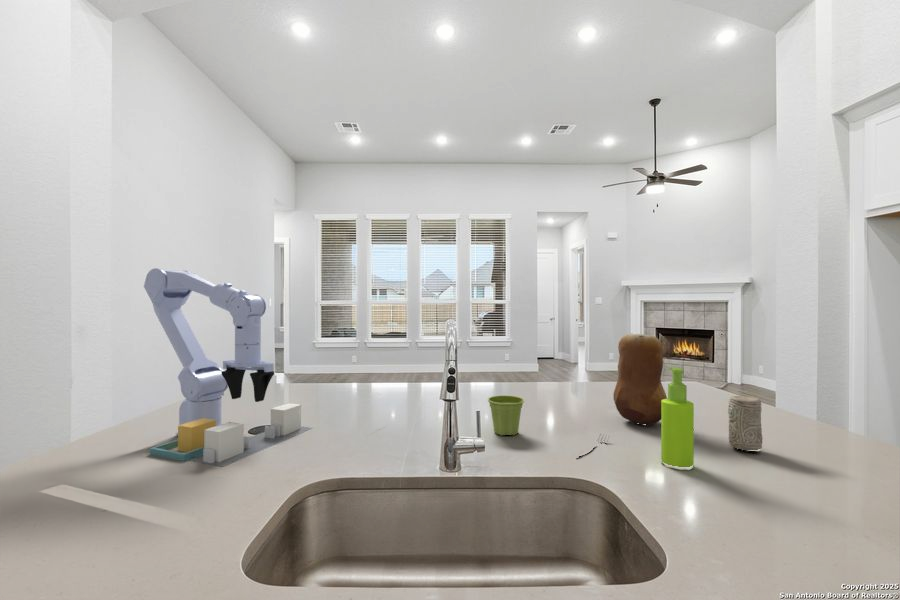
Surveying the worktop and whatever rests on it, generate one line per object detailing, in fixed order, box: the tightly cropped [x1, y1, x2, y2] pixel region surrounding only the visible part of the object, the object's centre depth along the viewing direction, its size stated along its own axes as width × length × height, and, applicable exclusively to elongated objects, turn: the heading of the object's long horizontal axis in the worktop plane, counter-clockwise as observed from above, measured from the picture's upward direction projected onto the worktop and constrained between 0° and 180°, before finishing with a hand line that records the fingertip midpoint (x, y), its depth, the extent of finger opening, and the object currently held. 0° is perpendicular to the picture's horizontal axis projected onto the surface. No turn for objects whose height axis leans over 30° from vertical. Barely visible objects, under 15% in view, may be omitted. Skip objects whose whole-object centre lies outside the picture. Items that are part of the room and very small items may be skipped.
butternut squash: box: [613, 332, 668, 426], centre depth 118 cm, size 14×13×25 cm
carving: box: [727, 395, 764, 451], centre depth 97 cm, size 6×8×12 cm
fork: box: [596, 433, 610, 443], centre depth 97 cm, size 3×16×2 cm, turn 138°
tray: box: [149, 439, 204, 462], centre depth 93 cm, size 10×14×3 cm
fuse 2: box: [270, 403, 302, 435], centre depth 105 cm, size 4×6×6 cm, turn 160°
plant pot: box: [487, 394, 525, 436], centre depth 109 cm, size 9×9×9 cm
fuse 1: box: [204, 421, 245, 462], centre depth 88 cm, size 4×6×6 cm, turn 160°
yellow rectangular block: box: [177, 418, 216, 453], centre depth 93 cm, size 4×6×6 cm, turn 160°
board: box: [187, 423, 313, 468], centre depth 96 cm, size 9×27×4 cm, turn 160°
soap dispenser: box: [660, 366, 695, 467], centre depth 88 cm, size 6×7×20 cm
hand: (247, 399), depth 104 cm, fingers open, 7 cm apart
